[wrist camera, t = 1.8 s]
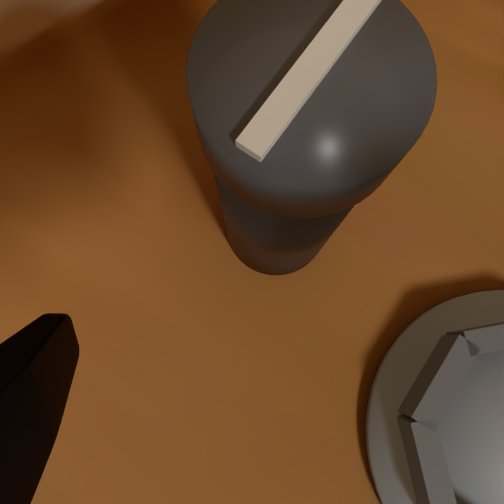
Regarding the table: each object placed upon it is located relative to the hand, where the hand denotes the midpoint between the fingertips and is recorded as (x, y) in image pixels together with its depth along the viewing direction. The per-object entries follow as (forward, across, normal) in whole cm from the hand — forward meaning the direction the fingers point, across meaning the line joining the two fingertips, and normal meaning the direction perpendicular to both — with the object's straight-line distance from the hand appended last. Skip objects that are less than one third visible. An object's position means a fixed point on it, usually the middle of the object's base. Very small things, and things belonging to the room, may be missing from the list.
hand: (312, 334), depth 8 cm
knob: (+12, 0, +5) cm, 13 cm away
